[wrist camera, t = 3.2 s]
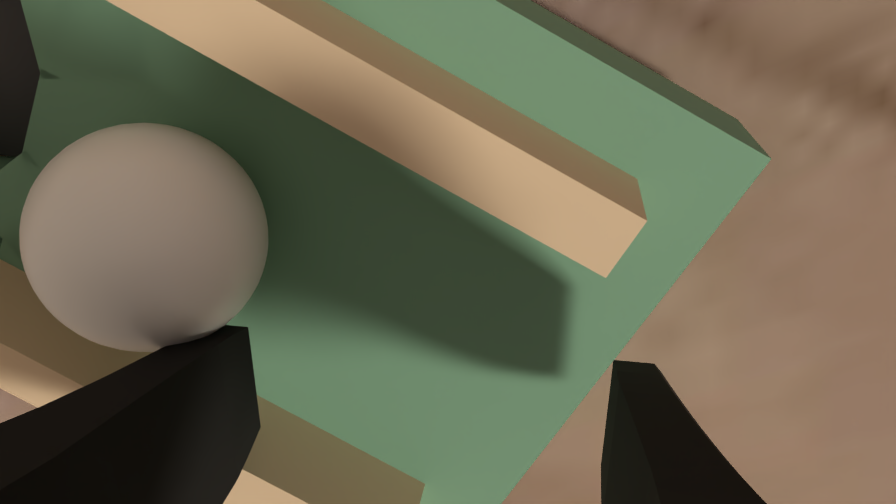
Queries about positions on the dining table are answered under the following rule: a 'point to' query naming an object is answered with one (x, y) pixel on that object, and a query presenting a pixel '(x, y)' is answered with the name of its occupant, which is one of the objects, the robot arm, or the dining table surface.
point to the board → (386, 217)
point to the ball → (143, 237)
